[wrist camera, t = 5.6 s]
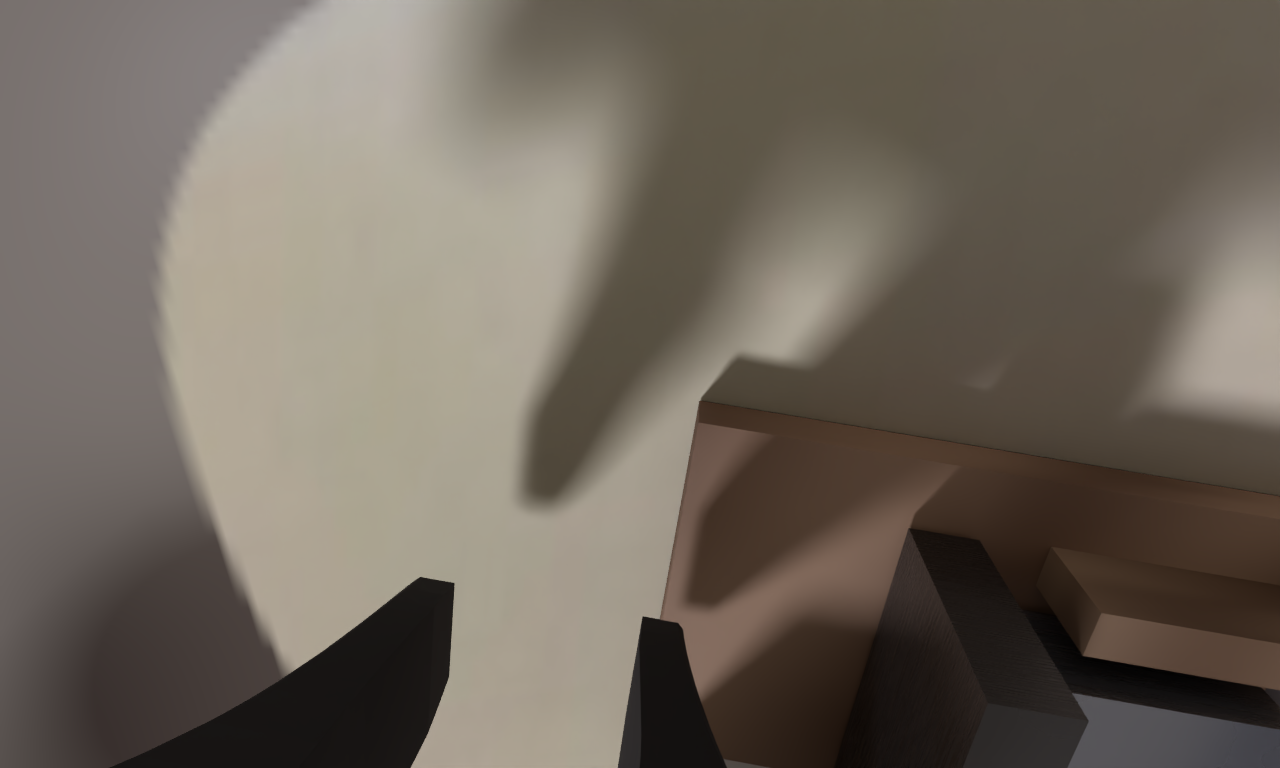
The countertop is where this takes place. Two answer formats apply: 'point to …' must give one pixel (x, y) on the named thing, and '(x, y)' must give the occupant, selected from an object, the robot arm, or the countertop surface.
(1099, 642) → the miniature room diorama
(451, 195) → the countertop surface
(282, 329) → the countertop surface
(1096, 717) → the dark grey angled block
